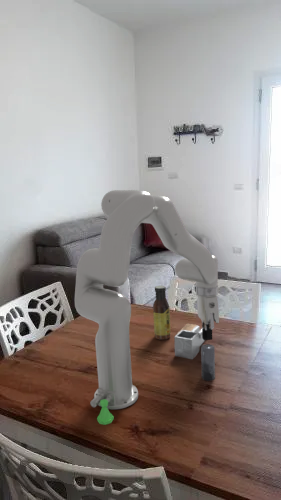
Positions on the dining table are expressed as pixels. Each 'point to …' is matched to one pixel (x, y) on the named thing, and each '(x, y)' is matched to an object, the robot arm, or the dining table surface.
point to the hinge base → (187, 341)
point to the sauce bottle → (161, 314)
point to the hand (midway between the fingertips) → (207, 339)
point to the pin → (208, 362)
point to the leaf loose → (200, 338)
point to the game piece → (104, 413)
